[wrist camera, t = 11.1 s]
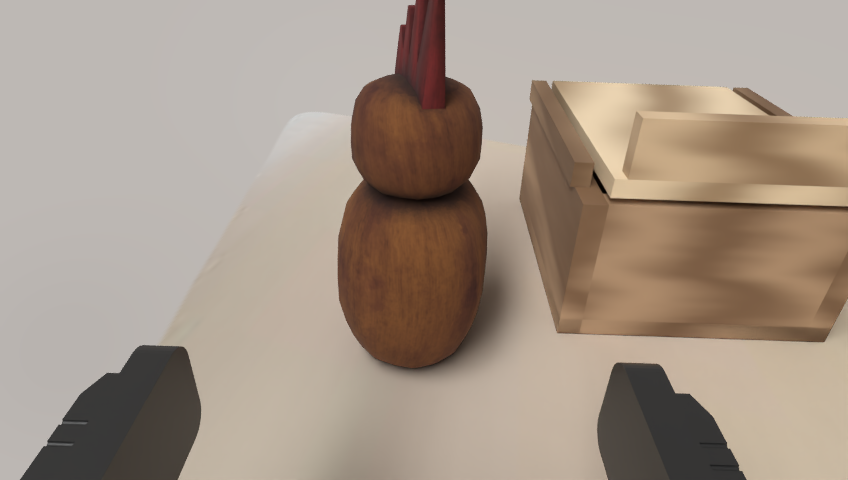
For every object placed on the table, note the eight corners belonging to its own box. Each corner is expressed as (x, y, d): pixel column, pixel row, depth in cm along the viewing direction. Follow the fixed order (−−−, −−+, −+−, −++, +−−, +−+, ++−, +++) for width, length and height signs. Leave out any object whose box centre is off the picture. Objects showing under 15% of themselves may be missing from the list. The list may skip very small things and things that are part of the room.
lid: (722, 100, 33) (740, 44, 31) (869, 207, 22) (910, 127, 20) (550, 94, 33) (559, 37, 31) (610, 197, 22) (628, 117, 20)
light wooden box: (708, 204, 36) (747, 88, 32) (828, 341, 25) (911, 190, 21) (516, 198, 36) (532, 80, 32) (552, 332, 25) (583, 178, 21)
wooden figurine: (476, 400, 22) (525, -29, 14) (329, 386, 22) (294, -39, 14) (477, 294, 27) (512, -51, 19) (360, 284, 28) (349, -58, 20)
